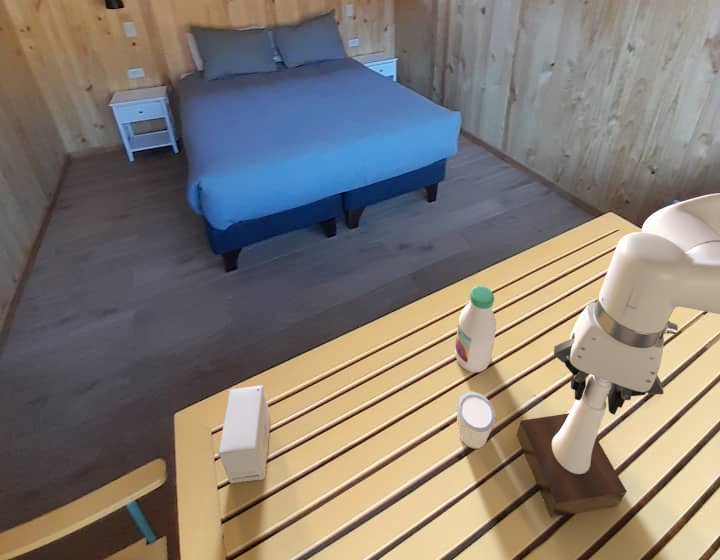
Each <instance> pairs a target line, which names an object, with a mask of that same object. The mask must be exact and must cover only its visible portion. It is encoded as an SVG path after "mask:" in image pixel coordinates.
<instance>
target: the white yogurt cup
mask: <svg viewBox="0 0 720 560" xmlns="http://www.w3.org/2000/svg"><path fill="white" fill-rule="evenodd" d="M456 413H457V414H456V416H457V417H456V428H457V429H456V431H457V435H458V438H459V439H460V441H461V442H462V441H463V442H464V443H465V444H466V446H467V447H468V448H471V449H474V450H475V449H476V450H477V449H480V448H482V447H483V446H484V445H485V444H486V443H487V440H488V439H489V436H490V434H491V432H492V429H493V427H494V424H495V422H496V410H495V409H494V406H493V404H492V402H491V401H490V400H489V399H488V398H487V397H486V396H485V395H483V394H481V393H480V392H475V391H469V392H465V393H463V394H462V395H461V396H460V397H459V399H458V401H457V404H456ZM463 442H462V443H463ZM464 443H463V444H464ZM465 444H464V445H465Z"/></svg>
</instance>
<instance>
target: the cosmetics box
mask: <svg viewBox="0 0 720 560" xmlns="http://www.w3.org/2000/svg"><path fill="white" fill-rule="evenodd" d="M224 415H225V416H224V420H223V426H222V431H221V437H220V442H219V448H218V456H219V458H220V461H221V463H222V467H223V469H224V471H225V473H226V476H227V479H228V481H229V484H236V483H242V482H243V483H244V482H251V481H261V480H264V479H266V470H267V459H268V452H269V451H268V450H269V439H270V430H271V429H270V427H271V412H270V408H269V405H268V401H267V398H266V394H265V390H264V386H263V385H262V384H260V385H252V386H245V387H236V388H230V390H229V393H228V399H227V404H226V410H225V414H224Z"/></svg>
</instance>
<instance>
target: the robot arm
mask: <svg viewBox="0 0 720 560" xmlns="http://www.w3.org/2000/svg"><path fill="white" fill-rule="evenodd" d="M678 307H681V308H686V309H692V310H696V311H701V312H706V313H711V314H717V315H720V192H719V193H718V192H717V193H710V194H706V195H701V196H697V197H693V198H690V199H686V200H683V201H680V202H677V203H674V204H671V205H667V206H665V207H663V208H660V209H658V210H657V211H655V212H654V213H652V214H651V215H650V216H649V217H647V219H646V220H645V221H644V223H643V225H642V227H641V231H633V232H630V233H628V234H627V233H626V234H625V235H624V236H623V237H621V239H619V240H618V243H617V245H616V246H615V249H614V252H613V255H612V258H611V260H610V264H609V266H608V269H607V271H606V274H605V277H604V280H603V283H602V285H601V289H600V291H599V294H598V297H597V300H596V301H592V302H590V303H588V304H587V305H586V307H585V308H584V309H583V310H582V311H581V313H580V315H579V316H578V318H577V320H576V321H575V324H574V326H573V328H572V331H571V333H570V336H569V339H568V340H566V341H564V342H561V343H559V344H556V345H554V346H553V356H555V358H556V359H558V360H559V361H560V362H561V363H564V365H565V368H567V369H568V370H569V372H570V373H571V374H572V377H571V380H570V390H573V391H574V400H575V401H576V400H578V401H579V400H581V397H582V395H583V392H584V390H585V387H586V386H587V382H586V381H587V380H586V379H588V376H589V375H590V376H591V375H593V376H596V377H599V378H601V379H604V380H607V381H609V382H611V384H612V386H611V389H610V391H609V394H608V396H607V405H608V412H609V413H610V415H611V414H612V415H614V416H615V415H616V413H617V411H618V409H619V408H620V409H622V408H623V405H624V403H625V402H626V401H631V399H632V397H638V396H639V397H640V396H645V395H646V394H648V395H664V393H665V392H664V387H663V383H662V381H661V380H660V378H659V375H658V373H659V370H660V366H661V363H662V359H663V352H664V346H665V345H664V342H665V338H664V335H666V334H667V335H669V334H672V335H675V336H676V335H677V334H678V331H679V326H678V324H677V323H674V322H671V321H670V319H671V316H672V314H673V312H674V310H675V308H678Z"/></svg>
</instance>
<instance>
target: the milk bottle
mask: <svg viewBox="0 0 720 560" xmlns="http://www.w3.org/2000/svg"><path fill="white" fill-rule="evenodd" d="M494 301H495V296H494V293H493V291H492V290H491V289H489V288H487V287H486V286H484V285H483V286H482V285H477V286H474V287H473V288H472V289H471V290H470V294H469V303H468V304H466V305H465V306H464V308H462V310H461V312H460V315H459V317H458V318H459V319H458V324H457V331H456V336H455V337H456V339H455V344H454V356H455V359H456V362H457V363H458V365H460V366H461V367H462V368H463V369H464V370H466V371H467V372H471V373H481V372H483V371H485V370H486V369H487V368H489V365H490V362H491V360H492V359H491V358H492V354H493V349H494V343H495V338H496V331H497V319H496V315H495V314H494V312H493V306H494Z"/></svg>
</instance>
